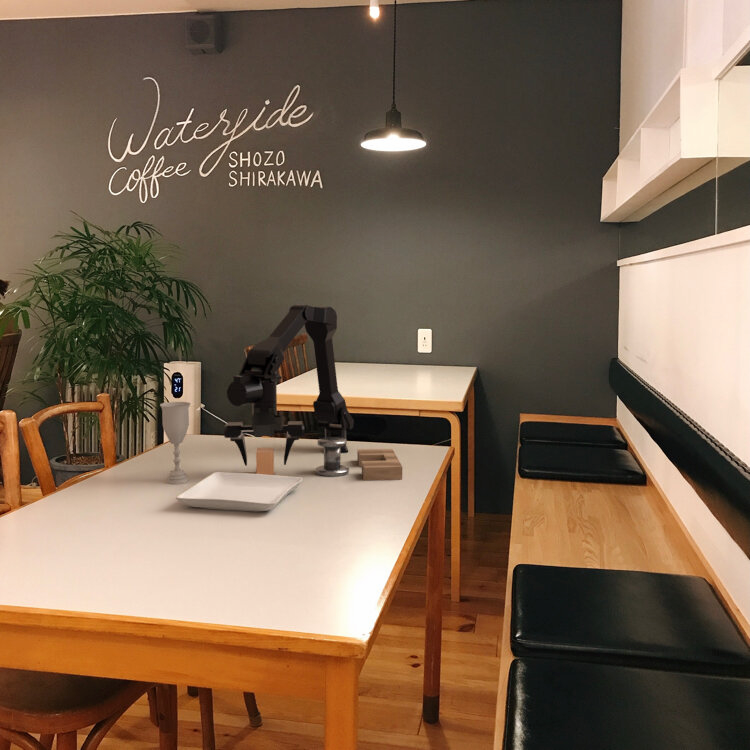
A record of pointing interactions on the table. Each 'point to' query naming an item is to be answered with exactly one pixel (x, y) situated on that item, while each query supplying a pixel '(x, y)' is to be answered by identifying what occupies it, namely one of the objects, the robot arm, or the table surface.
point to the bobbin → (332, 457)
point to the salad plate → (239, 491)
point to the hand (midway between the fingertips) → (265, 464)
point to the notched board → (379, 464)
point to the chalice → (176, 434)
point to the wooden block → (265, 461)
